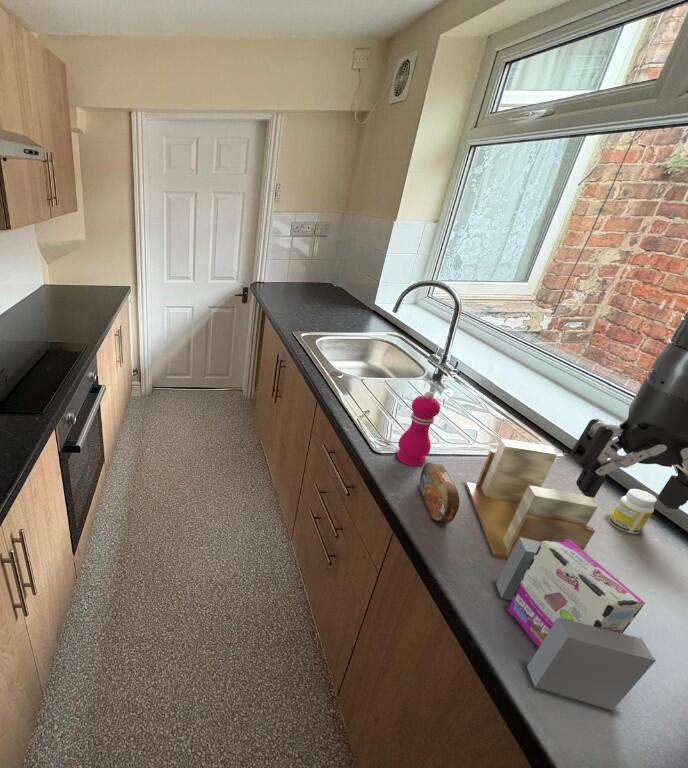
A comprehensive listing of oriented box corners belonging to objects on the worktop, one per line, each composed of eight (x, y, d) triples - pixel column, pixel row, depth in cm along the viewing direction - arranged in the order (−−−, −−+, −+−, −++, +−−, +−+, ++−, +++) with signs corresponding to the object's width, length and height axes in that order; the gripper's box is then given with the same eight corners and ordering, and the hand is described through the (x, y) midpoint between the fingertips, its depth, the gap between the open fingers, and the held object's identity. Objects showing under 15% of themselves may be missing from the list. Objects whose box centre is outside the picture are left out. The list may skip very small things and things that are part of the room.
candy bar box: (594, 675, 62) (649, 604, 54) (562, 678, 61) (613, 606, 54) (531, 606, 72) (571, 537, 64) (504, 608, 71) (540, 539, 64)
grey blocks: (555, 599, 73) (585, 551, 67) (611, 711, 57) (655, 660, 52) (495, 584, 75) (519, 536, 70) (533, 688, 60) (567, 637, 55)
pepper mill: (424, 471, 104) (447, 402, 95) (393, 462, 107) (411, 394, 98) (426, 456, 109) (448, 389, 100) (396, 448, 113) (414, 382, 104)
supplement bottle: (633, 521, 88) (653, 491, 84) (644, 537, 84) (665, 506, 81) (604, 515, 90) (622, 484, 86) (613, 530, 86) (633, 499, 82)
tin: (416, 482, 100) (425, 454, 96) (430, 484, 100) (440, 456, 96) (436, 529, 87) (447, 498, 83) (453, 531, 86) (465, 501, 83)
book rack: (535, 498, 95) (562, 444, 88) (582, 577, 76) (620, 516, 70) (465, 485, 99) (485, 432, 92) (493, 556, 81) (521, 497, 74)
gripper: (639, 395, 44) (575, 509, 52) (816, 411, 41) (721, 530, 48) (596, 367, 51) (545, 472, 58) (746, 378, 47) (672, 488, 55)
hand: (625, 498), depth 53 cm, fingers open, 8 cm apart
